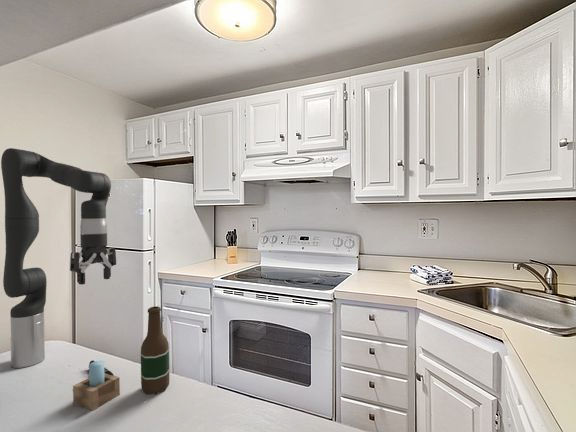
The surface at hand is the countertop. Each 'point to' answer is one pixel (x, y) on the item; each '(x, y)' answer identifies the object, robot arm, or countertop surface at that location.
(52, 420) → the countertop surface
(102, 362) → the peg
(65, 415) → the countertop surface
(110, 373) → the electric trimmer
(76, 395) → the socket block
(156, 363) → the beer bottle
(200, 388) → the countertop surface
